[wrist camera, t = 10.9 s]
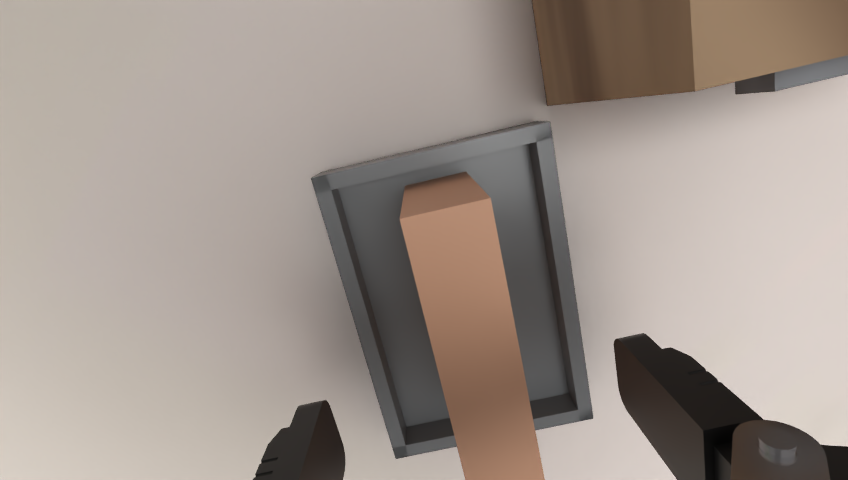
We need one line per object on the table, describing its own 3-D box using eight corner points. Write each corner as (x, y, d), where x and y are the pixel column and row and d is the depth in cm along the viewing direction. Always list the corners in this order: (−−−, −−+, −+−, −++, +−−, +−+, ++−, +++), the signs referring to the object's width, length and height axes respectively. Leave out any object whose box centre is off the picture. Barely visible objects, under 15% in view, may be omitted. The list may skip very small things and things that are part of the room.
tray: (397, 431, 21) (395, 458, 20) (321, 172, 18) (311, 178, 16) (578, 393, 21) (593, 418, 19) (536, 121, 17) (550, 121, 16)
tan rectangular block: (456, 394, 20) (472, 506, 14) (405, 185, 17) (399, 219, 12) (508, 383, 20) (546, 491, 14) (465, 171, 17) (490, 197, 12)
